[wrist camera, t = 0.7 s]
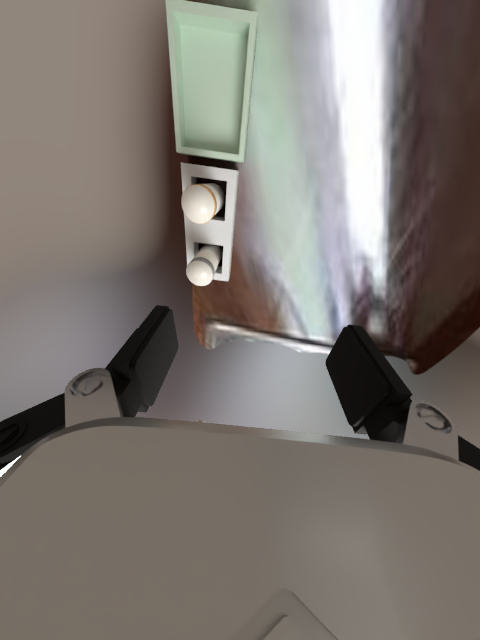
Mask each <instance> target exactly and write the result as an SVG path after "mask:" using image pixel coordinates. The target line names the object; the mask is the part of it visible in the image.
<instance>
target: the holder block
mask: <svg viewBox="0 0 480 640" xmlns="http://www.w3.org/2000/svg"><path fill="white" fill-rule="evenodd" d="M181 175H182V191H183V192H184V190H185V189H186V188H187V187H188V186H190V185H193V184H197V177H200V178H207V179H214V180H221V181H227V190H226V208H225V217H218V216H213V218H212V219H211V220H210V221H208V222H207V223H204V224H197V223H194V222H192V221H191V220H190V219H188V218H187V216H186V215H185V213H184V222H185V236H186V251H187V252H186V253H187V266H188V264H189V263H190V262H191V260H192V259H193V258H194V257H195V256H196V254H197V253H198V252H199V246H198V243H205V244H213V245H220V246H223V261H222V267H219V266H217V269H216V271H215V274H214V277H213V279H214V280H222V281H229V277H230V270H231V258H232V247H233V235H234V223H235V212H236V200H237V189H238V177H239V171H237V170H230V169H223V168H216V167H209V166H202V165H195V164H188V163H181Z"/></svg>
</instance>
